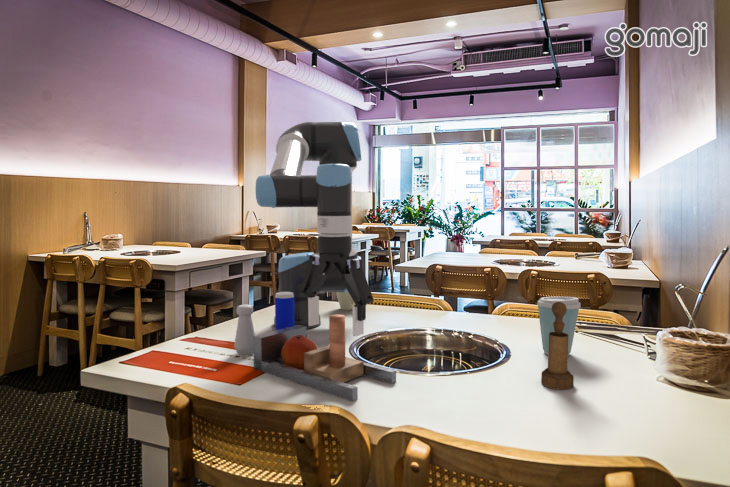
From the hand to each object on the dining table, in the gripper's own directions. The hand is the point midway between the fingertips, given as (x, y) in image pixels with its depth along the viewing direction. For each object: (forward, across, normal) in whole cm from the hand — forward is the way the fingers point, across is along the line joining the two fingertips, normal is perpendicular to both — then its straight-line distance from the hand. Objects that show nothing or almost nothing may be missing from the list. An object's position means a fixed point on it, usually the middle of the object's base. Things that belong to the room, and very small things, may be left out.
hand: (335, 329), depth 113 cm
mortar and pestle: (+11, +40, +28) cm, 50 cm away
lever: (+11, 0, 0) cm, 11 cm away
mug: (+13, -48, +59) cm, 77 cm away
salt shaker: (+12, -31, -1) cm, 33 cm away
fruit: (+11, -11, 0) cm, 16 cm away
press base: (+11, -4, 0) cm, 12 cm away
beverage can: (+12, -28, +10) cm, 32 cm away
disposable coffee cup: (+12, +32, +51) cm, 61 cm away
